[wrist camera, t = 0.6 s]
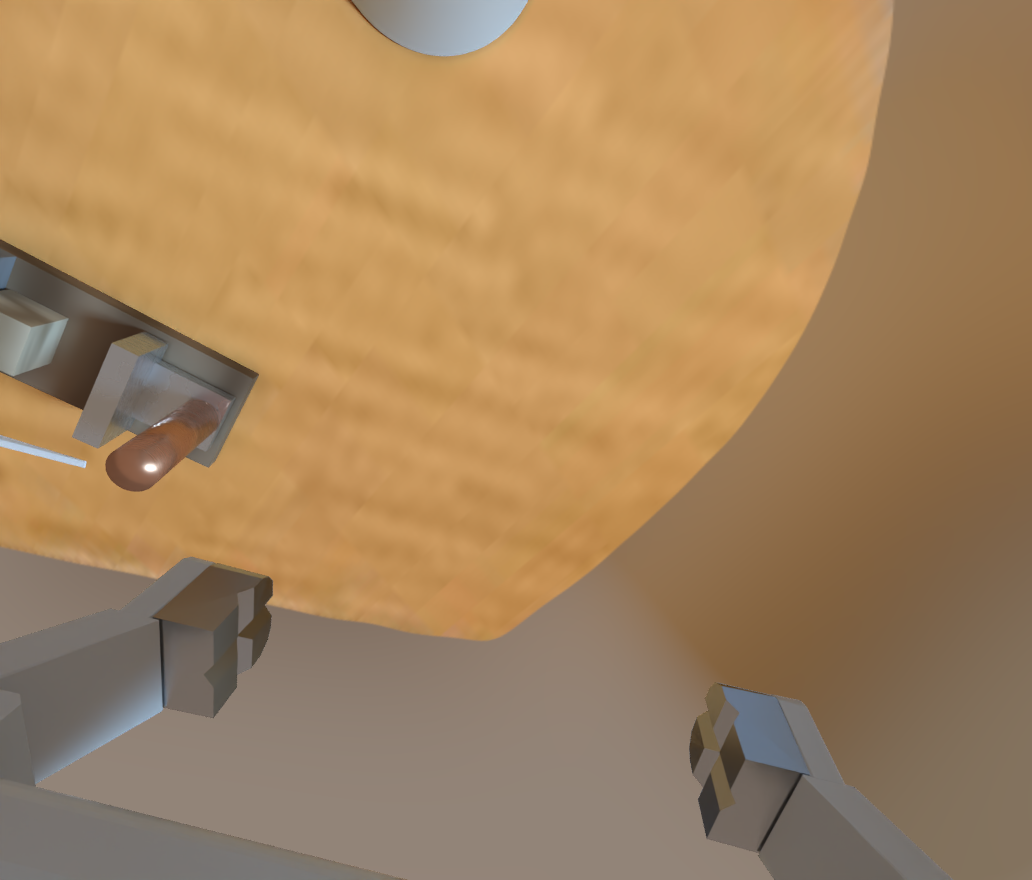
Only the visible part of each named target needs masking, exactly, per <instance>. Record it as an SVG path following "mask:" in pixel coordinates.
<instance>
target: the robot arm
mask: <svg viewBox="0 0 1032 880" xmlns="http://www.w3.org/2000/svg"><path fill="white" fill-rule="evenodd" d="M352 2H353V3H354V4H355V5H356V7H357V8H358V9H359V11H360V12H361V13H362V14H363V15H364V16H365V18H366V19H367V20H368V21H369V22H370V23H371V24H372V25H373V26H374V27H376V28H377V29H378V30H379V31H380V32H381V33H383V34H384V35H385V36H387V37H388V38H390V39H391V40H393V41H394V42H396V43H398V44H400V45H401V46H403V47H406V48H408V49H410V50H413V51H416V52H419V53H423V54H428V55H434V56H455V55H461V54H465V53H469V52H472V51H475V50H477V49H480V48H482V47H484V46H486V45H488V44H489V43H491V42H492V41H494V40H495V39H497V38H498V37H499V36H500V35H502V34H503V33H504V32H505V31H506V30H507V29H508V28H509V27H510V26H511V25H512V24H513V23H514V21H515V20H516V19H517V17H518V16H519V15H520V13H521V12H522V10H523V9H524V7H525V5H526V3H527V2H528V0H352ZM272 596H273V580H272V579H271V578H270V577H269V576H265V575H261V574H258V573H254V572H250V571H246V570H242V569H239V568H235V567H231V566H227V565H223V564H219V563H217V564H216V563H214V562H210V561H206V560H202V559H198V558H195V557H189V558H184V559H182V560H181V561H180V562H178V563H177V564H176V565H175V566H174V567H172V568H171V569H170V570H169V571H167V572H166V573H165V574H164V575H162V576H161V577H160V578H159V579H158V580H156V581H155V582H154V583H153V584H151V585H150V586H149V587H148V588H146V589H145V590H144V591H143V592H141V593H140V594H139V595H138V596H137V597H135V598H134V599H133V600H132V601H130V602H129V603H128V604H127V605H125V606H124V607H123V608H122V609H121V610H115V609H108V610H104V611H101V612H98V613H95V614H92V615H88V616H86V617H82V618H79V619H76V620H73V621H69V622H67V623H63V624H60V625H57V626H54V627H50V628H48V629H44V630H41V631H38V632H35V633H31V634H28V635H25V636H22V637H19V638H16V639H13V640H9V641H6V642H3V643H0V880H406V879H402V878H398V877H394V876H390V875H386V874H382V873H378V872H374V871H371V870H366V869H362V868H359V867H354V866H351V865H347V864H343V863H339V862H335V861H331V860H326V859H323V858H319V857H315V856H311V855H307V854H302V853H298V852H295V851H291V850H287V849H283V848H278V847H275V846H271V845H266V844H263V843H258V842H254V841H251V840H247V839H243V838H239V837H234V836H231V835H227V834H223V833H219V832H215V831H211V830H207V829H203V828H199V827H195V826H191V825H187V824H182V823H179V822H175V821H171V820H167V819H163V818H159V817H155V816H151V815H146V814H143V813H139V812H135V811H131V810H126V809H123V808H119V807H114V806H111V805H106V804H103V803H99V802H95V801H90V800H87V799H83V798H78V797H75V796H71V795H67V794H63V793H58V792H54V791H51V790H47V789H43V788H38V787H36V785H35V784H37V783H38V782H40V781H42V780H43V779H45V778H47V777H49V776H50V775H52V774H54V773H56V772H57V771H59V770H61V769H62V768H64V767H66V766H68V765H69V764H71V763H73V762H74V761H76V760H78V759H80V758H81V757H83V756H85V755H86V754H88V753H90V752H92V751H94V750H95V749H97V748H99V747H100V746H102V745H104V744H106V743H107V742H109V741H111V740H112V739H114V738H116V737H118V736H119V735H121V734H123V733H125V732H126V731H128V730H130V729H132V728H133V727H135V726H137V725H139V724H140V723H142V722H144V721H145V720H147V719H149V718H151V717H152V716H154V715H156V714H157V713H159V712H161V711H162V710H163V708H168V709H172V710H177V711H182V712H187V713H191V714H196V715H201V716H205V717H210V718H214V717H215V715H216V714H217V713H218V711H219V710H220V709H221V707H222V706H223V705H224V703H225V702H226V701H227V699H228V698H229V697H230V696H231V694H232V693H233V692H234V690H235V689H236V688H237V675H238V674H240V673H242V672H244V671H246V670H248V669H250V668H252V666H253V665H254V664H255V662H256V661H257V659H258V658H259V657H260V655H261V653H262V651H263V649H264V647H265V645H266V642H267V640H268V637H269V632H270V628H271V617H272V616H271V614H270V612H269V611H268V609H267V608H266V606H265V604H266V603H267V602H268V601H269V599H270V598H271V597H272ZM705 701H706V704H707V708H708V711H706V712H705V713H703V714H702V715H700V716H698V717H697V718H696V721H695V724H694V726H693V729H692V732H691V739H690V746H689V751H690V763H691V768H692V773H693V775H694V777H695V778H696V779H697V780H698V782H699V783H700V784H701V785H702V787H703V789H702V792H701V794H700V796H699V798H698V802H699V806H700V810H701V815H702V819H703V824H704V828H705V833H706V838H707V839H709V840H713V841H717V842H720V843H724V844H727V845H732V846H735V847H739V848H742V849H746V850H749V851H753V852H756V853H759V855H758V856H759V858H760V859H761V861H762V862H763V864H764V865H765V867H766V868H767V870H768V871H769V873H770V874H771V876H772V877H773V878H774V880H953V879H952V878H951V877H950V876H949V875H948V874H947V873H946V872H945V871H943V870H942V869H941V868H940V867H939V866H938V865H937V864H936V863H935V862H934V861H933V860H932V859H931V858H929V856H927V855H926V854H925V853H924V852H923V851H922V850H921V849H920V848H919V847H918V846H917V845H916V844H915V843H914V842H912V841H911V840H910V839H909V838H908V837H907V836H906V835H905V834H904V833H903V832H902V831H901V830H900V829H899V828H897V827H896V826H895V825H894V824H893V823H892V822H891V821H890V820H889V819H888V818H887V817H886V816H885V815H884V814H883V813H881V812H880V811H879V810H878V809H877V808H876V807H875V806H874V805H873V804H872V803H871V802H870V801H869V800H868V799H866V797H864V796H863V795H862V794H861V793H860V792H859V791H858V790H857V789H856V788H855V787H852V786H848V785H845V784H844V782H843V779H842V777H841V775H840V774H839V771H838V769H837V767H836V765H835V763H834V761H833V759H832V757H831V755H830V753H829V751H828V749H827V747H826V745H825V743H824V741H823V739H822V737H821V735H820V733H819V731H818V729H817V727H816V725H815V723H814V721H813V719H812V717H811V715H810V713H809V711H808V709H807V707H806V705H804V704H803V703H802V702H801V701H800V700H795V699H790V698H786V697H781V696H776V695H768V694H764V693H760V692H756V691H751V690H747V689H743V688H738V687H734V686H730V685H725V684H721V683H716V682H715V683H714V684H713V685H712V686H711V687H710V688H709V690H708V693H707V695H706V697H705Z"/></svg>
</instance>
